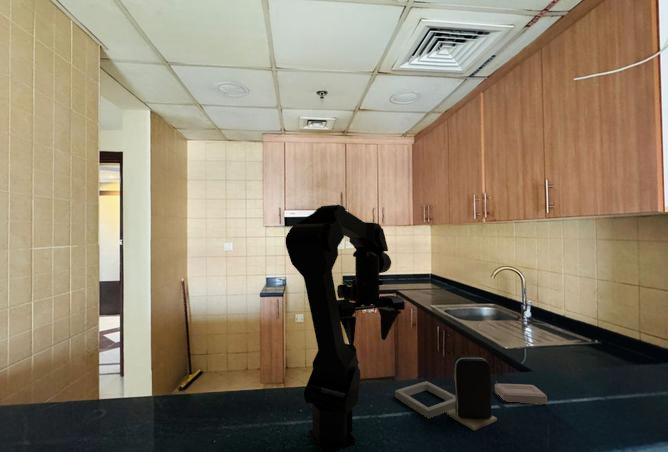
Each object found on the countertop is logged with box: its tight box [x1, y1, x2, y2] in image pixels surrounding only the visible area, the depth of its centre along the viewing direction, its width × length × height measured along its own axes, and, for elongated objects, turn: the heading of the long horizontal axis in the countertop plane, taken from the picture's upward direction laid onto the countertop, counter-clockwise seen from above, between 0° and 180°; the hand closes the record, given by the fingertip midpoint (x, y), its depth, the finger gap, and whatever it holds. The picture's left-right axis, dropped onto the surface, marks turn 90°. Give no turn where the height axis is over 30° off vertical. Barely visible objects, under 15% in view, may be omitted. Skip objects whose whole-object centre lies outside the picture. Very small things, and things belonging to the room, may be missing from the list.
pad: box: [445, 409, 498, 431], centre depth 60 cm, size 7×6×1 cm
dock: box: [394, 380, 456, 420], centre depth 66 cm, size 10×10×2 cm
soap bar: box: [494, 383, 548, 405], centre depth 68 cm, size 5×9×2 cm, turn 85°
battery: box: [451, 354, 493, 418], centre depth 61 cm, size 7×4×11 cm, turn 90°
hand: (367, 342), depth 70 cm, fingers open, 9 cm apart
